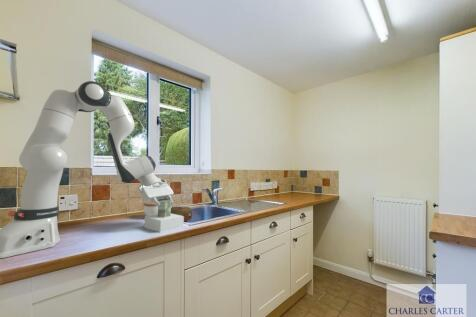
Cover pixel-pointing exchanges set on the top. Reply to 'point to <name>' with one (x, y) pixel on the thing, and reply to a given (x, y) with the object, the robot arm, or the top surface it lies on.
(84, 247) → the top surface
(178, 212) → the brown rounded slab
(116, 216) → the top surface
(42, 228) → the robot arm
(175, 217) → the white square box
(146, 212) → the lidded bowl
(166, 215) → the sage block
